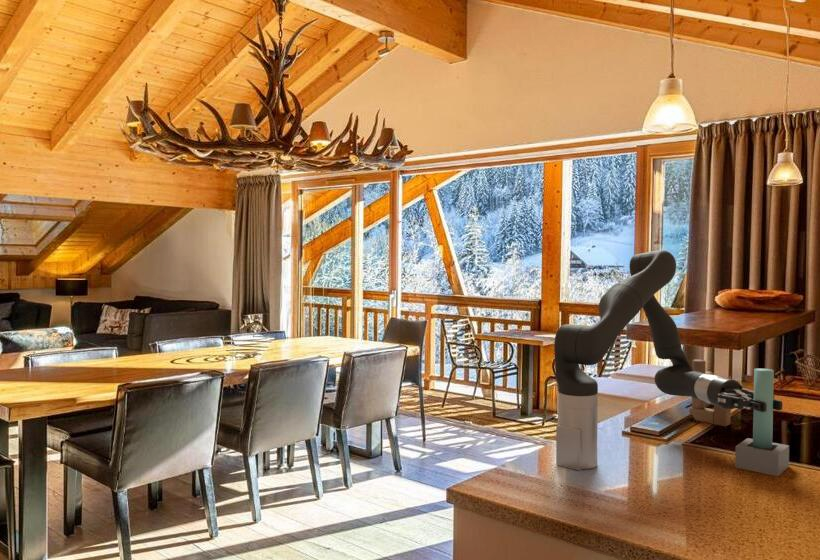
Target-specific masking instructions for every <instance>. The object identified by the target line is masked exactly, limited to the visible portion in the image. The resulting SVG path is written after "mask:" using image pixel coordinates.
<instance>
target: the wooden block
mask: <svg viewBox="0 0 820 560" xmlns="http://www.w3.org/2000/svg"><path fill="white" fill-rule="evenodd" d="M706 364H707V363H706V360H704V359H693V360H692V366H691V367H692V369H693V371H697V372H702V373H706V371H707V370H706V369H707V368H706V367H707V366H706ZM706 374H707V373H706ZM726 378H729V379H732V376H728V377H726ZM688 411H689V414H692V415H693V417H694V418H695V420H696V421H695V420H694V421H695V422H701V423H705V424H706V423H707V424H711V425H716V426H721V427H727V426H729V425H731V423H732V422H731V417H732V416H731V415H732V409H725V408H722V407H718V406H715V405H713V408H709V407H708V408H707V407H706V402H704V401H702V400H700V399H697V398H693V397H691V407H689V410H688ZM689 414H688V415H689Z"/></svg>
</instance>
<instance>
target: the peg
mask: <svg viewBox="0 0 820 560" xmlns="http://www.w3.org/2000/svg"><path fill="white" fill-rule="evenodd" d="M753 372H754V373H753V391H754V399H755V400H758V401H762V402H765V403H766V412H760V411H757V410H754V409H752V410H753V416H752V417H753V418H752V425H753V426H752V439H753V446H754V447H757V448H762V449H770V448H772V443H773V430H774V429H773V426H774V425H773V423H774V422H773V421H774V419H773V418H774V409H773V395H774V382H775V381H774V380H775V378H774V377H775V373H774V372H775V371H774V370H773V369H770V368H757V367H756V368H753Z"/></svg>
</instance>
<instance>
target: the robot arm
mask: <svg viewBox="0 0 820 560" xmlns="http://www.w3.org/2000/svg"><path fill="white" fill-rule="evenodd" d="M675 258H676V257H675V256H674V255H673V254H672V253H671V252H670V251H667V250H659V249H658V250H653V251H646V252H643V253H642V252H641V253H637V254H634V255H632V256H631V259H630V260H629V266H628V267H629V274H630V276H628V277H626V278H624V279H621V280H619V281H618V282H617V283H615V284H614V285H612V286H611V287H610V288H609V289H608V290H607V291H606V292H605V293H604V294H603V295H602V296H601V298H600V300H599V303H598V314H599V318H600V319H599V320H598V321H597V322H596V323H595V324H593V325H585V324H584V325H583V324H581V325H580V324H572V323H569V324H568V323H567V324H566V323H565V324H562V325H560V326H559V328H558V329H557V331H556V333H555V336H554V342H553V343H554V345H553V346H554V347H553V348H554V349H553V351H554V370H555V371H554V373H555V381H556V385H557V425H556V429H555V431H556V433H555V437H556V438H555V440H556V441H555V448H556V449H555V454H556V455H555V456H556V457H555V459H556V460H555V464H556V466H559V467H565V468H567V469H573V470H575V471H581V470H589V469H593V468H596V467H597V465H598V416H599V415H598V408H599V407H598V406H599V405H598V403H599V401H598V399H599V398H598V397H599V384H598V381H597V380H596V379H595V378H593V377H591V376H590V375H588V374H586V373H585V372H584V371H583V369H582V368H581V367H580V365H583V366H594V365H597V364H598V363H600V362H601V361H602V360H603V358H605V356H606V354H607V353H608V351H609V349H611V347H612V345H613V344H614V342H615V340H616V339H617V338H618V336H619V335H620V334H621V332H622V331H623V330H624V329H625V328H626V327H627V325H628V324H629V323H630V322H631V321H633V319H634V318H635V317H636V316H637V314H638V313H639V312H640V311H641V310H643V312H644V314H645V318H646V320H647V323H648V326H649V330H650V334H651V338H652V343H653V347H654V348H653V349H654V352H655V355H656V357H657V358H658V359H661V360H670V362H671V364H672V365H669V366H666V367H664V368H661V369H659V370H658V371H657V372H656V373H655V375H654V383H655V386H656V387H657V389H658V390H660V392H661V393H664V394H665V395H668V396H669V395H670V396H677V397H691V398H692V397H693V398H697V399H700V400H702V401H704V402H705V404H706V403H707V404H710V405H713V406H714V405H715V406H718V407H722V408H725V409H731V410H734V409H739V410H743V409H746V410H753V409H754V410H757V411H760V412H766V403H765V402H762V401H758V400H755V399H754V390H751V389H749V388H745V387H743V386H742V384H741V383H740V382H739V381H738V380H736V379H732V378H731V379H729V378H727V377H724V376H720V375H716V374H709V373H702V372H697V371H693V369H692V367H693V366H692V365H691V363H690V361H689V360H688V357H687V356H686V354H685V352H684V350H683V348H682V344H681V343H682V342H681V339H680V334H679V330H678V326H677V324H676V322H675V321H674V319H673V317H671V315H670V314H669V313H668V312H667V311H666V310H665V309H664V307H663V306H662V305H661V303H660V302H659V301H658V299H657V298H656V295H655V294H657V293H658V292H659V291H660V290H662V289H663V288H664V287H665V286H667V285H668V284H669V283H670V282H671V281H672V280H673V278H674V277H675V275H676V270H677V261H676V259H675ZM773 410H776V411H782V410H783V401H782V400H778V399H776V398H775V395H774V394H773Z"/></svg>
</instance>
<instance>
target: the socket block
mask: <svg viewBox="0 0 820 560" xmlns="http://www.w3.org/2000/svg"><path fill="white" fill-rule="evenodd" d="M734 453H735V458H734V459H735V462H734V463H735V466H734V467H735V468H737V469H742V470H745V471H751V472H756V473H760V474H766V475H770V476H775V477H779V476H780V475H781V474H782V473H784V472H785V471H786V470H787V468H789V466H790V445H788V444H783V443H778V442H772V448H770V449H762V448H757V447H754V446H753V438H749V437H747V438H745V439H744V440H742V441H741V442H739V443H738V444H736V445H735V451H734Z"/></svg>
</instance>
